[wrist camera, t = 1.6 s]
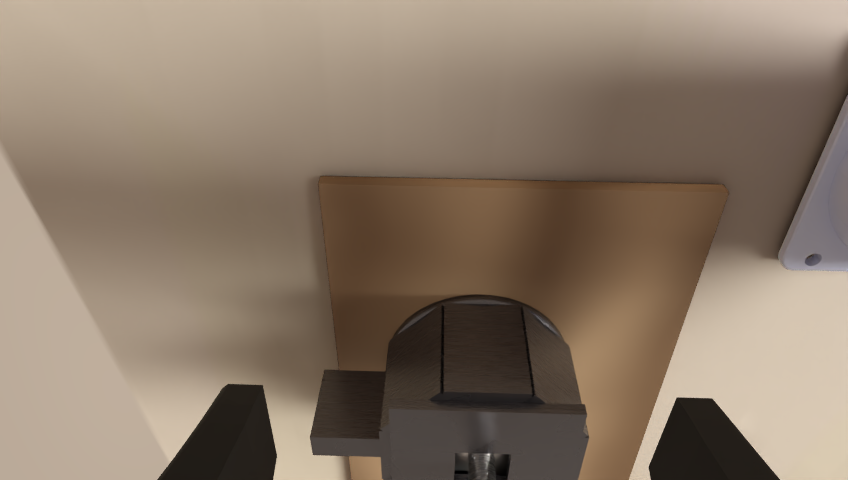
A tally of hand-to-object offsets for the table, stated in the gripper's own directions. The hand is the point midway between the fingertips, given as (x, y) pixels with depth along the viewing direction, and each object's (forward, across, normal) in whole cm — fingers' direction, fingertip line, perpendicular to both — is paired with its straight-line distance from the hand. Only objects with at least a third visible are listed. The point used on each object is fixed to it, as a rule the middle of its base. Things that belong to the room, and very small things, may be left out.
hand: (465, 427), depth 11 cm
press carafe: (+10, 0, +9) cm, 13 cm away
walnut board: (+10, -2, +10) cm, 15 cm away
